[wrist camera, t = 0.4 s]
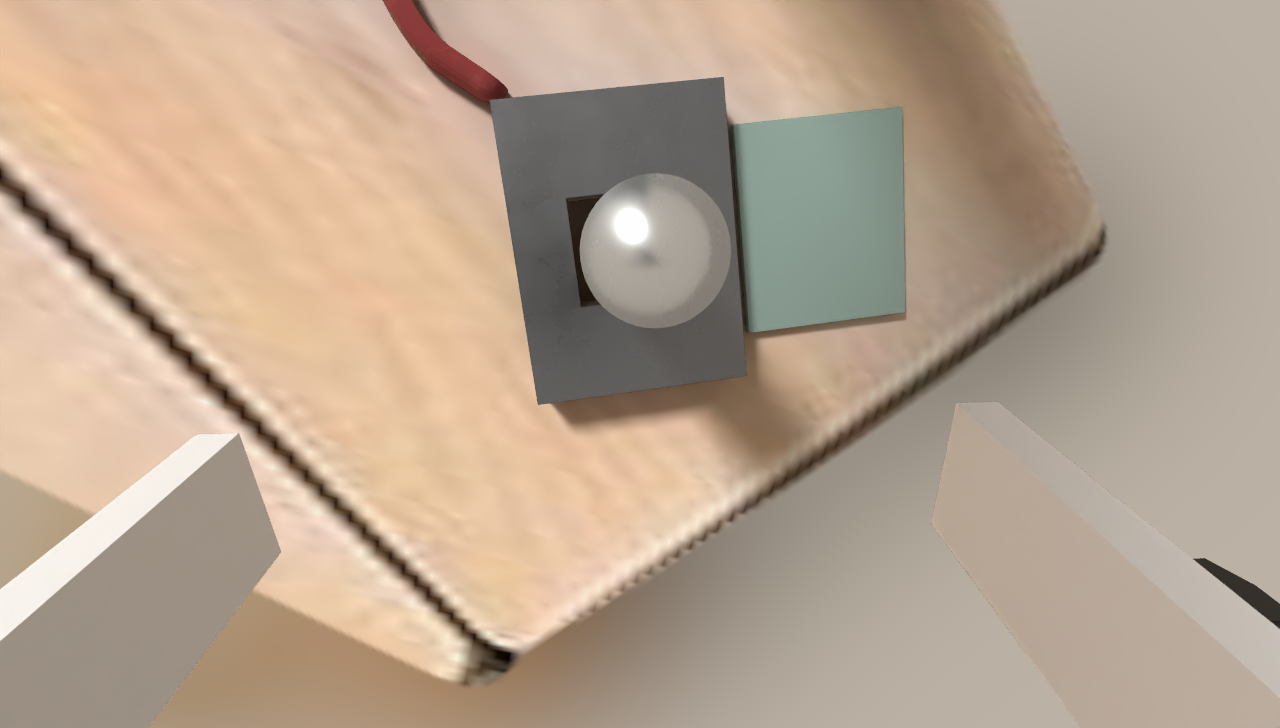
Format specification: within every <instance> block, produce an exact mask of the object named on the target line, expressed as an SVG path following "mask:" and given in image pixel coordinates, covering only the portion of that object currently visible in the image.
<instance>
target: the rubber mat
mask: <svg viewBox="0 0 1280 728" xmlns="http://www.w3.org/2000/svg"><path fill="white" fill-rule="evenodd" d="M731 136H732V149H733V162H734V175H735V188H736V202H737V215H738V228H739V241H740V254H741V267H742V280H743V293H744V307H745V320H746V332H748V333H753V332H760V331H768V330H775V329H783V328H790V327H798V326H805V325H813V324H820V323H828V322H835V321H843V320H850V319H858V318H865V317H873V316H880V315H888V314H895V313H903V312H906V308H905V247H904V186H903V125H902V107H897V108H887V109H878V110H868V111H859V112H849V113H840V114H830V115H821V116H811V117H801V118H792V119H782V120H773V121H763V122H754V123H744V124H735V125H732V126H731Z"/></svg>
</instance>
